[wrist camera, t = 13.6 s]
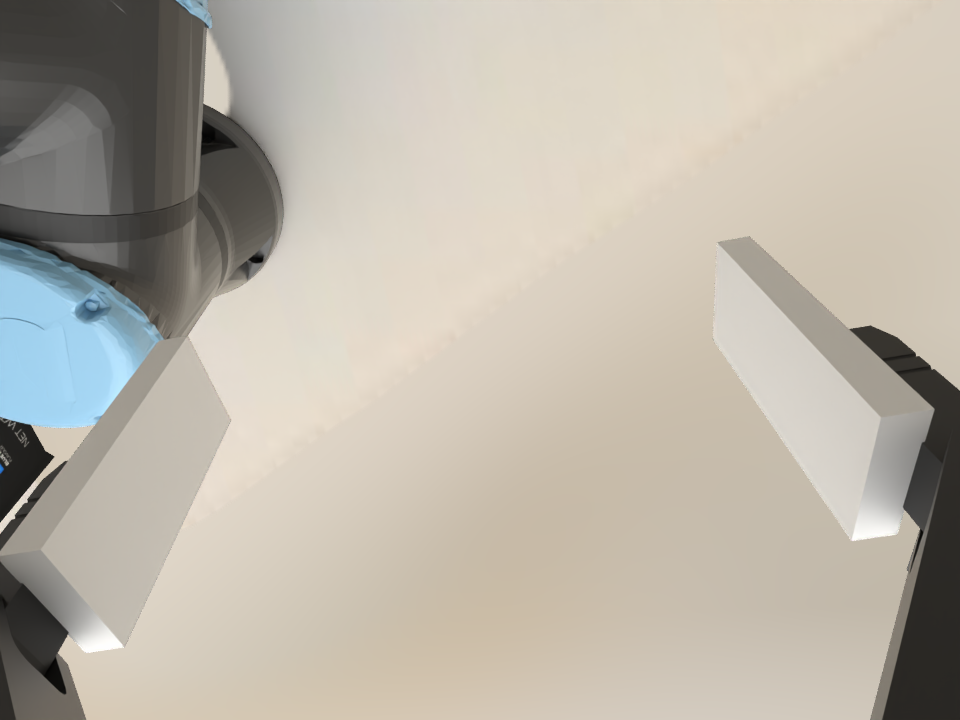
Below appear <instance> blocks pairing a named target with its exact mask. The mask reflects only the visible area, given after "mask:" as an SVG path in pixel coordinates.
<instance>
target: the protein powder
mask: <svg viewBox="0 0 960 720" xmlns="http://www.w3.org/2000/svg"><path fill="white" fill-rule="evenodd" d="M53 458H54V456H53V455H51V454H49V453H48V452H46V451H45V450H44V448H43V446H42V444H41V442H40V441H39V439H38V437H37V435H36V434H35V432H34V430H33V428H32V426H31V425H30V424H25V423H20V422H16V421H12V420H9V419H5V418H2V417H0V522H1V521H2V520H3V519H4V517H5V516H6V515H7V514H8V513H9V511H10V510H11V509H12V508H13V506H14V505H15V504H16V503H17V502H18V500H19V499H20V498H21V497H22V496H23V494H24V493H25V492H26V491H27V489H28V488H29V487H30V486H31V485H32V483H33V482H34V481H35V480H36V479H37V477H38V476H39V475H40V474H41V472H42V471H43V470H44V469H45V468H46V466H47V465H48V464H49V463H50V462H51V460H52V459H53Z"/></svg>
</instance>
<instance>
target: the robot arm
mask: <svg viewBox="0 0 960 720" xmlns="http://www.w3.org/2000/svg"><path fill="white" fill-rule="evenodd" d="M207 28H212V16H211V15H210V13H209V12H208V0H0V417H2V418H5V419H9V420H12V421H16V422H20V423H25V424H30V425H36V426H43V427H55V428H74V427H84V426H91V425H95V426H94V427H93V429H92V430H91V431H90V433H89V434H88V435H87V437H86V438H85V439H84V440H83V442H82V443H81V444H80V446H79V447H78V449H77V450H76V451H75V452H74V454H73V455H72V456H71V458H70V459H69V460H68V461H65V462H63V463H62V464H61V465H60V466H59V467H57V468H56V469H55V470H54V471H53V472H51V473H50V474H49V475H48V476H47V477H46V478H44V479H43V480H42V481H41V482H40V484H39V485H38V486H37V488H36V489H35V490H34V491H33V493H32V494H31V495H30V497H29V498H28V499H27V500H28V503H24V504H23V506H22V507H21V508H20V509H19V511H18V512H17V513H16V515H15V519H13V520H11V521H10V522H9V524H8V525H7V526H6V528H5V529H4V530H3V531H2V533H1V534H0V720H86V718H85V715H84V712H83V708H82V705H81V702H80V699H79V697H78V694H77V691H76V688H75V685H74V682H73V679H72V676H71V673H70V670H69V667H68V664H67V663H66V662H65V661H64V660H63V658H62V657H61V656H60V655H59V654H58V651H59V649H60V647H61V646H62V644H63V642H64V641H65V639H66V637H67V635H69V636H70V637H71V638H72V639H73V640H74V641H75V642H76V643H77V644H78V645H79V647H80V648H81V649H82V650H83V651H84V652H85V653H89V652H95V651H102V650H109V649H116V648H123V647H125V645H126V643H127V641H128V639H129V637H130V635H131V633H132V631H133V629H134V626H135V624H136V622H137V620H138V618H139V616H140V614H141V611H142V609H143V607H144V605H145V603H146V601H147V598H148V596H149V594H150V592H151V590H152V588H153V586H154V584H155V582H156V580H157V577H158V575H159V573H160V571H161V569H162V567H163V565H164V562H165V560H166V558H167V556H168V554H169V552H170V550H171V548H172V545H173V543H174V541H175V539H176V537H177V535H178V533H179V530H180V528H181V526H182V524H183V522H184V520H185V518H186V516H187V513H188V511H189V509H190V507H191V505H192V503H193V501H194V498H195V496H196V494H197V492H198V490H199V488H200V486H201V484H202V481H203V479H204V477H205V475H206V473H207V471H208V469H209V466H210V464H211V462H212V460H213V458H214V456H215V454H216V452H217V449H218V447H219V445H220V443H221V441H222V439H223V437H224V434H225V432H226V430H227V428H228V426H229V424H230V422H231V419H230V417H229V415H228V413H227V411H226V409H225V407H224V405H223V403H222V401H221V399H220V398H219V396H218V394H217V392H216V390H215V388H214V386H213V384H212V382H211V380H210V378H209V376H208V374H207V372H206V370H205V368H204V366H203V364H202V362H201V360H200V359H199V357H198V355H197V353H196V351H195V349H194V347H193V345H192V343H191V341H190V339H189V337H188V334H189V333H190V331H191V330H192V328H193V327H194V325H195V324H196V322H197V321H198V319H199V318H200V316H201V315H202V313H203V312H204V310H205V309H206V307H207V306H208V304H209V303H210V301H211V300H212V298H214V297H217V296H219V295H222V294H224V293H227V292H229V291H232V290H234V289H236V288H238V287H240V286H241V285H243V284H245V283H246V282H247V281H249V280H250V279H251V278H252V277H254V276H255V275H256V274H257V273H258V272H259V271H260V270H261V268H262V267H263V266H264V265H265V263H266V262H267V260H268V259H269V257H270V255H271V254H272V252H273V250H274V248H275V247H276V244H277V242H278V240H279V237H280V233H281V229H282V223H283V202H282V196H281V191H280V187H279V184H278V181H277V178H276V176H275V173H274V171H273V169H272V167H271V165H270V163H269V161H268V160H267V158H266V157H265V155H264V153H263V152H262V151H261V149H260V148H259V147H258V145H257V144H256V143H255V142H254V141H253V139H252V138H251V137H250V136H249V135H248V134H247V133H246V132H245V131H244V130H243V129H242V128H241V127H239V126H238V125H237V124H236V123H234V122H233V121H232V120H230V119H229V118H228V117H226V116H225V115H223V114H222V113H220V112H218V111H216V110H215V109H213V108H211V107H209V106H207V105H205V104H203V98H204V76H205V53H206V32H207ZM713 340H714V342H715V343H716V344H717V346H718V348H719V349H720V350H721V352H722V353H723V355H724V356H725V358H726V359H727V361H728V362H729V364H730V365H731V367H732V368H733V369H734V371H735V372H736V374H737V375H738V377H739V378H740V380H741V381H742V383H743V384H744V385H745V387H746V388H747V390H748V391H749V393H750V394H751V395H752V397H753V398H754V400H755V401H756V403H757V404H758V406H759V407H760V409H761V410H762V411H763V413H764V414H765V416H766V417H767V419H768V420H769V422H770V423H771V425H772V426H773V428H774V429H775V430H776V432H777V433H778V435H779V436H780V438H781V439H782V440H783V442H784V444H785V445H786V446H787V448H788V449H789V451H790V452H791V454H792V455H793V457H794V458H795V460H796V461H797V463H798V464H799V465H800V467H801V468H802V470H803V471H804V473H805V474H806V476H807V477H808V478H809V480H810V481H811V483H812V484H813V486H814V487H815V489H816V490H817V492H818V493H819V495H820V496H821V497H822V499H823V500H824V501H825V503H826V505H827V506H828V508H829V509H830V511H831V512H832V513H833V515H834V516H835V518H836V519H837V521H838V522H839V524H840V525H841V526H842V528H843V529H844V531H845V532H846V534H847V535H848V537H849V538H850V540H851V541H855V540H862V539H869V538H876V537H882V536H889V535H896V534H897V533H898V530H899V526H900V523H901V520H902V517H903V513H904V510H905V511H906V512H907V513H908V514H909V515H910V517H911V518H912V519H913V520H914V521H915V523H916V524H917V525H918V526H919V528H920V531H919V534H918V537H917V540H916V543H915V546H914V549H913V552H912V555H911V559H910V561H909V564H908V567H907V571H908V575H907V579H906V583H905V586H904V590H903V594H902V598H901V602H900V606H899V611H898V614H897V618H896V622H895V626H894V629H893V633H892V638H891V641H890V645H889V649H888V653H887V657H886V661H885V664H884V669H883V672H882V677H881V680H880V684H879V688H878V692H877V696H876V700H875V703H874V707H873V711H872V715H871V719H870V720H960V391H959V390H958V389H957V388H956V387H955V386H953V385H952V384H951V383H950V382H949V381H948V380H946V379H945V378H944V377H943V376H942V375H941V374H939V373H938V372H937V371H936V370H935V369H933V370H932V369H931V366H930V365H929V364H928V363H927V362H925V361H924V360H923V359H922V358H921V357H919V356H917V357H916V354H915V352H914V351H913V350H911V349H910V348H909V347H908V346H907V345H905V344H904V343H903V342H902V341H901V340H900V339H898V338H897V337H895V336H893V335H890V334H888V333H886V332H884V331H881V330H879V329H877V328H875V327H872V326H865V327H860V328H853V329H848V328H847V327H846V326H845V325H844V324H843V323H842V322H841V321H840V320H839V319H837V317H835V316H834V315H833V314H832V313H831V312H830V311H829V310H828V309H827V308H826V307H825V306H824V305H823V304H822V303H820V302H819V301H818V300H817V299H816V298H815V297H814V296H813V295H812V294H811V293H810V292H809V291H808V290H806V289H805V288H804V287H803V286H802V285H801V284H800V283H799V282H798V281H797V280H796V279H795V278H794V277H793V276H792V275H790V274H789V273H788V272H787V271H786V270H785V269H784V268H783V267H782V266H781V265H780V264H779V263H778V262H777V261H775V260H774V259H773V258H772V257H771V256H770V255H769V254H768V253H767V252H766V251H765V250H764V249H763V248H762V247H760V246H759V245H758V244H757V243H756V242H755V241H754V240H753V239H752V238H751V237H750V236H749V237H743V238H738V239H732V240H727V241H721V242H717V255H716V279H715V304H714V326H713Z"/></svg>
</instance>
